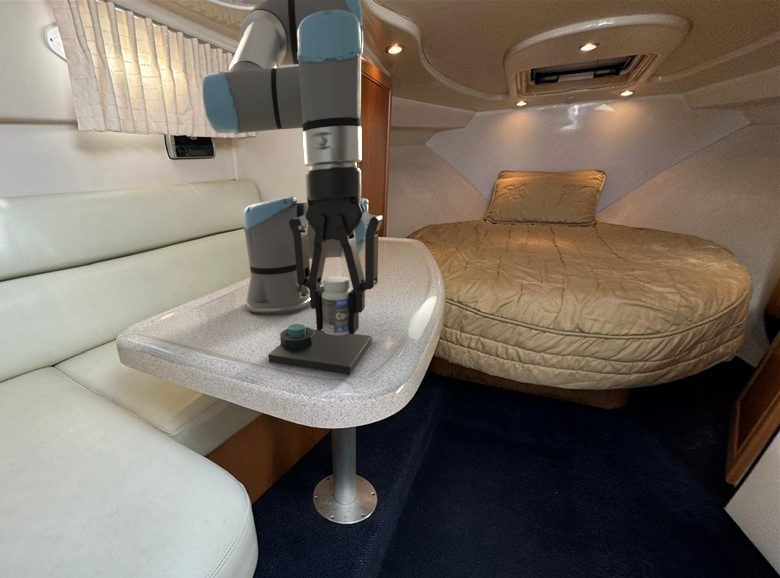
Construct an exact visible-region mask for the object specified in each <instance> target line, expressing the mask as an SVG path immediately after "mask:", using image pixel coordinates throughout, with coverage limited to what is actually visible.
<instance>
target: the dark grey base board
mask: <svg viewBox="0 0 780 578" xmlns="http://www.w3.org/2000/svg"><path fill="white" fill-rule="evenodd" d="M305 328H306V335H305V336H302V337H297V338H294V337H289V335H288V328H286V329H284V330H282V331H280V332H279V340H280V344H279V345H277V346H276V347H275V348H274V349H273V350H272V351H270V353H268V354H267V356H268V363H273V364H278V365H286V366H292V367H298V368H304V369H311V370H317V371H322V372H329V373H335V374H342V375H348V376H350V375H351V374H353V371H354V370H355V368H356V367H357V365H358V364H359V363H360V362H361V360H362V358H363V357H364V355H365V354H366V352H367V351H368V349H369V348H370V346H371V345H372V343H373V336H372V335H366V334H359V333H358V334H356V333H354V334H349V333H347V334H345V335H338V336H337V335H329V334H327V333H325V332H324V331H323V329H322V330H321V331H319V330H317V329H314V328H310V327H306V326H305Z"/></svg>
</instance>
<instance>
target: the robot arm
mask: <svg viewBox="0 0 780 578" xmlns="http://www.w3.org/2000/svg"><path fill="white" fill-rule="evenodd" d="M361 6H362V5H361V0H262V1H261V2H259V3H258V4H257V5H255V6H254V7H252V9H251V10H250V11H249V12H248V14H247V15H246V16H245V17H244V19H243V21H242V23H241V25H240V29H239V34H238V35H239V37H238V38H239V45H238V48H237V49H236V52H235V54H234V56H233V59H232V61H231V64H230V65H229V69H228V71H223V70H220V71H218V72H213V73H209V74H206V75H205V76H204V77H203V79H202V82H201V96H202V103H203V108H204V113H205V116H206V119H207V121H208V123H209V126H210V128H211V129H212V130H213V131H214V132H215V133H218V134H235V135H238V134H245V133H254V132H266V131H276V130H277V131H278V130H292V129H294V130H295V129H302V139H303V157H304V165H305V166H306V167H309V168H308V169H309V170H308V171H306V173H305V174H304V175H305V176H304V178H305V193H306V194H305V195H306V202H298V199H297V197H296V196H295V195H291V196H286V197H280V198H275V199H271V200H265V201H262V202H257V203H253V204H249V205H248V206H246V207H245V208H244V210H243V224H244V225H243V227H244V228H243V232H244V234H245V242H246V248H247V257H248V263H249V270H250V277H249V284H248V288H247V294H246V308H247V310H248V311H249V312H251V313H254V314H257V315H266V316H276V315H285V314H286V315H287V314H292V313H295V312H299V311H302V310H304V309H306V308H309V306H310V308H311V309H312V310H315V323H316V324H315V325H316V330H319V331H321V330H323V317H322V293H323V292H324V291H325V290H324V287H323V285H322V284H323V275H324V270H325V263H326V259H328V258H329V259H330V258H340V259H343V258H345V263H346V265H347V266H346V267H347V270H348V274H349V279H350V282H351V286H352V289H351V290H350V292H349V293H348V299H349V334H356V332H357V331H358V330H359V329H360V314H361V313H362V312H363V311H364V310H365V307H366V291H368V290H372V289H373V288H375V286H376V285H377V284H378V279H379V277H378V275H379V233H380V230H381V227H382V225H383V221H384V217H383V215H380V214H378V215H374V214H371V213H369V199H367V198H365V197H362V170H361V168H360V167H358V164H359V163H361V161H362V121H361V109H362V108H361V106H362V103H361V101H362V56H363V50H364V29H363V14H362V7H361ZM291 65H294V66H291ZM280 66H283V67H280ZM363 250H364V251H365V252H364V270H363V267H362V262H361V259H360V254H361V253H362V251H363ZM310 259H311V263H310ZM310 264H311V265H310ZM321 285H322V286H321Z"/></svg>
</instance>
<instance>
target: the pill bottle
mask: <svg viewBox="0 0 780 578" xmlns="http://www.w3.org/2000/svg"><path fill="white" fill-rule="evenodd" d="M322 282H323V283H322V284H323V285H322V287H324V290H325V291H324V292H323V293H322V317H323V329H322V330H323V331H324V332H325V333H327V334H329V335H337V336H338V335H345V334H347V333H349V299H348V293H349V292H350V291H351V290H350V288H351V287H350V286H351V283H350V282H351V279H350V277H347V276H330V277H326V278H324V279H322Z"/></svg>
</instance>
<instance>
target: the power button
mask: <svg viewBox="0 0 780 578" xmlns="http://www.w3.org/2000/svg"><path fill="white" fill-rule="evenodd" d="M305 327H306V325H305V324H303V323H294V324H290V325H288V327H287V329H288V335H289V337H294V338H297V337H302V336H305V335H306V328H305Z"/></svg>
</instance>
